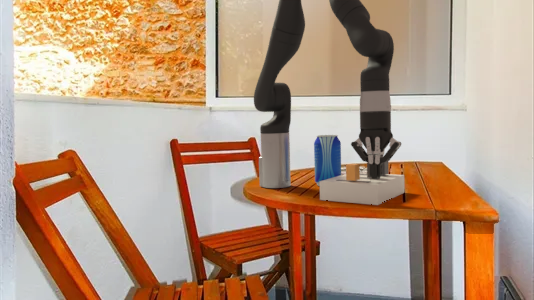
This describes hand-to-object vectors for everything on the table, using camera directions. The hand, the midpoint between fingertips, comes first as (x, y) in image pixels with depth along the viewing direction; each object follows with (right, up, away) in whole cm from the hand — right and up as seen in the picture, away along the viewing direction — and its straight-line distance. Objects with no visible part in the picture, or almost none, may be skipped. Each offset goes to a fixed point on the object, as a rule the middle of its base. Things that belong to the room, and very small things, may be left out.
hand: (376, 178), depth 115 cm
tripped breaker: (-5, -1, +4) cm, 6 cm away
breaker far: (+5, 0, +12) cm, 13 cm away
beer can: (-8, -4, +31) cm, 32 cm away
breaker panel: (-1, -5, +9) cm, 11 cm away
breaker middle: (+1, 0, +7) cm, 7 cm away
